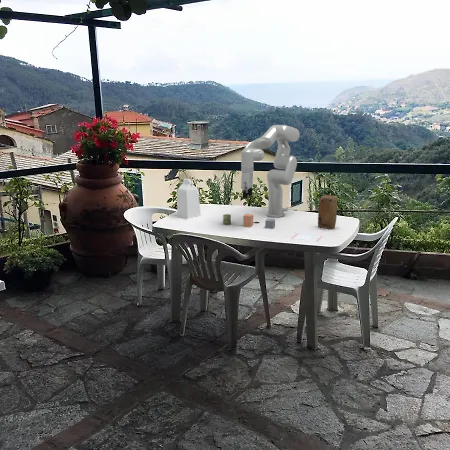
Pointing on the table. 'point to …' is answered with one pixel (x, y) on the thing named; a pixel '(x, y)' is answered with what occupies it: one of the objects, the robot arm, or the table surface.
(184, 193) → the milk
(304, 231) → the table surface
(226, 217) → the olive cylinder
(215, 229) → the table surface
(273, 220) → the grey cube
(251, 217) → the terracotta block
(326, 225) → the block
